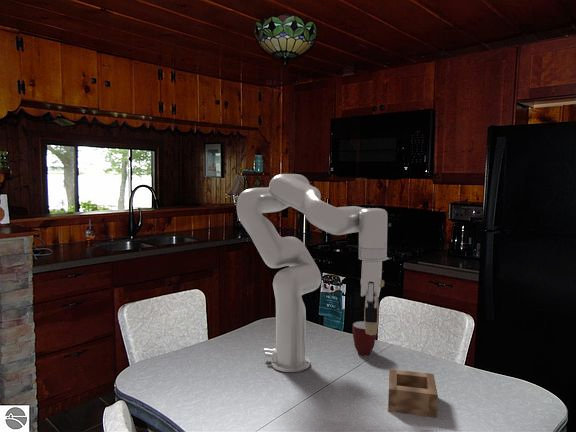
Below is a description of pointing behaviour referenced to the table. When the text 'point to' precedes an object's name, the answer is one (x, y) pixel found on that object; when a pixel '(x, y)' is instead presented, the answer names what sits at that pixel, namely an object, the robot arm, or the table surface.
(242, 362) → the table surface
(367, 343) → the mug
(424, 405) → the block
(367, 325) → the handle
